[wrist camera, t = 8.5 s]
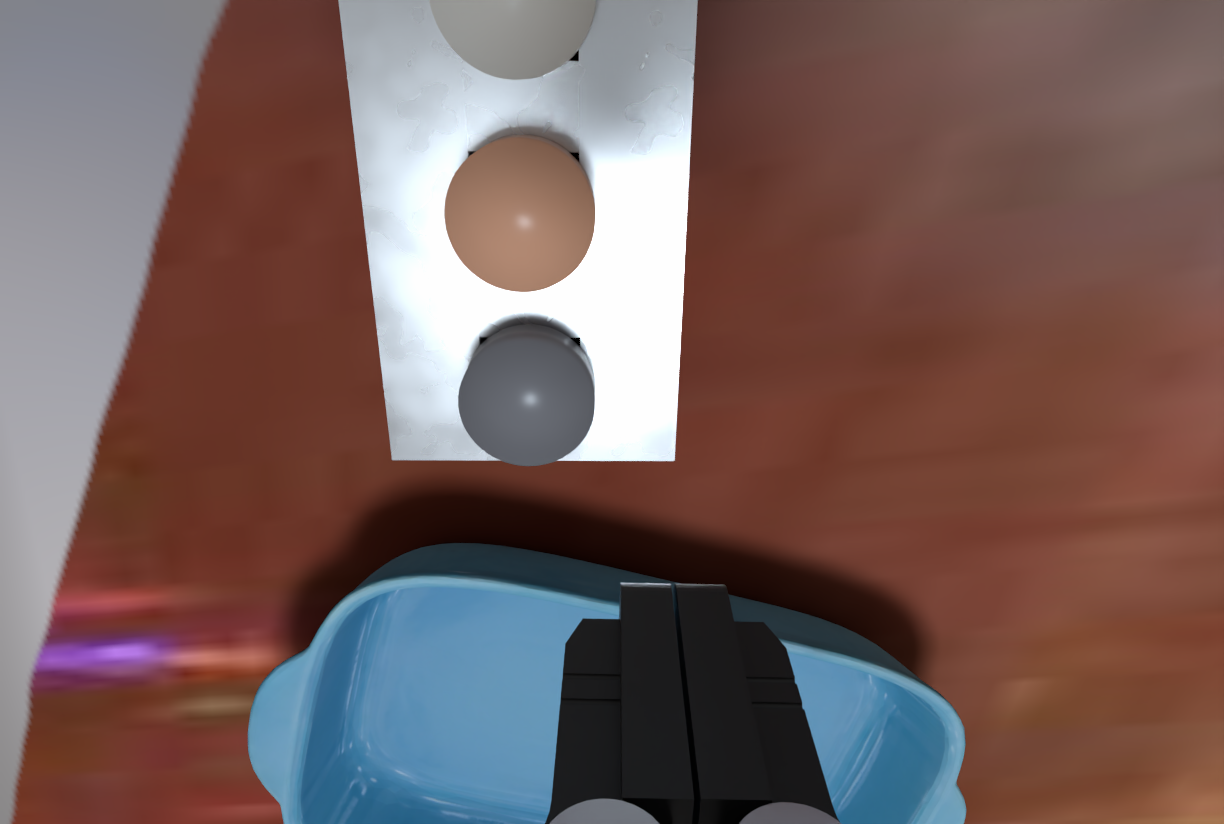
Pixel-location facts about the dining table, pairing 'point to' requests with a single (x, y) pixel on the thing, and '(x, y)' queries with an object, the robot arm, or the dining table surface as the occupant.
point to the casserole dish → (546, 699)
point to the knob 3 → (528, 395)
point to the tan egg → (520, 213)
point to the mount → (624, 223)
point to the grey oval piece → (514, 33)
